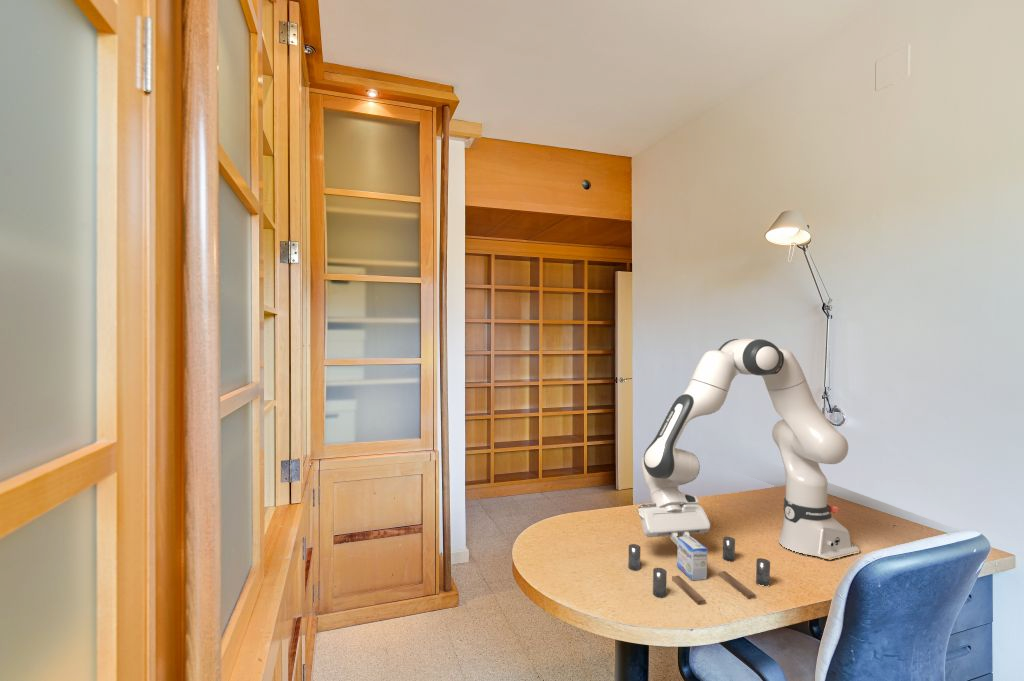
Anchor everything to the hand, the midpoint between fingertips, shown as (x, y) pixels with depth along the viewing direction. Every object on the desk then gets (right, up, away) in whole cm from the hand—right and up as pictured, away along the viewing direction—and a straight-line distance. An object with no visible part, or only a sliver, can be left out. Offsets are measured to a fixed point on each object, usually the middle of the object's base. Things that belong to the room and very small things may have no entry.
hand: (684, 549), depth 138 cm
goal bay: (+3, -5, -12) cm, 14 cm away
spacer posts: (+1, -5, -6) cm, 7 cm away
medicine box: (0, -5, -4) cm, 7 cm away
